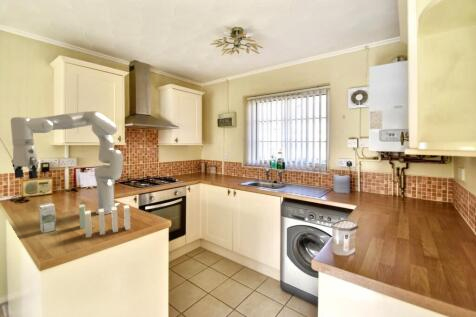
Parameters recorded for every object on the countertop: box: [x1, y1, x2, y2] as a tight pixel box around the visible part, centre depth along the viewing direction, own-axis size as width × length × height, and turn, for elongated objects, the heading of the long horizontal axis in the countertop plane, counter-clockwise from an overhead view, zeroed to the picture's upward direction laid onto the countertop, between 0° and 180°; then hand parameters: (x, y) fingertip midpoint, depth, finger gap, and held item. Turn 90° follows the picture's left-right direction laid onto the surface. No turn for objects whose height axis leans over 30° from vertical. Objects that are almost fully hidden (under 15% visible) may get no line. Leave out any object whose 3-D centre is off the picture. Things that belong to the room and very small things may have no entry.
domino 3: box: [111, 206, 119, 233], centre depth 124 cm, size 2×6×12 cm, turn 32°
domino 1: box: [84, 209, 93, 239], centre depth 118 cm, size 2×6×12 cm, turn 32°
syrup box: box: [38, 202, 57, 234], centre depth 123 cm, size 6×6×14 cm
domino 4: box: [123, 204, 131, 231], centre depth 127 cm, size 2×6×12 cm, turn 32°
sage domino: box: [78, 203, 86, 230], centre depth 129 cm, size 2×6×12 cm, turn 32°
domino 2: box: [98, 209, 106, 236], centre depth 121 cm, size 2×6×12 cm, turn 32°
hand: (26, 178), depth 113 cm, fingers open, 9 cm apart
